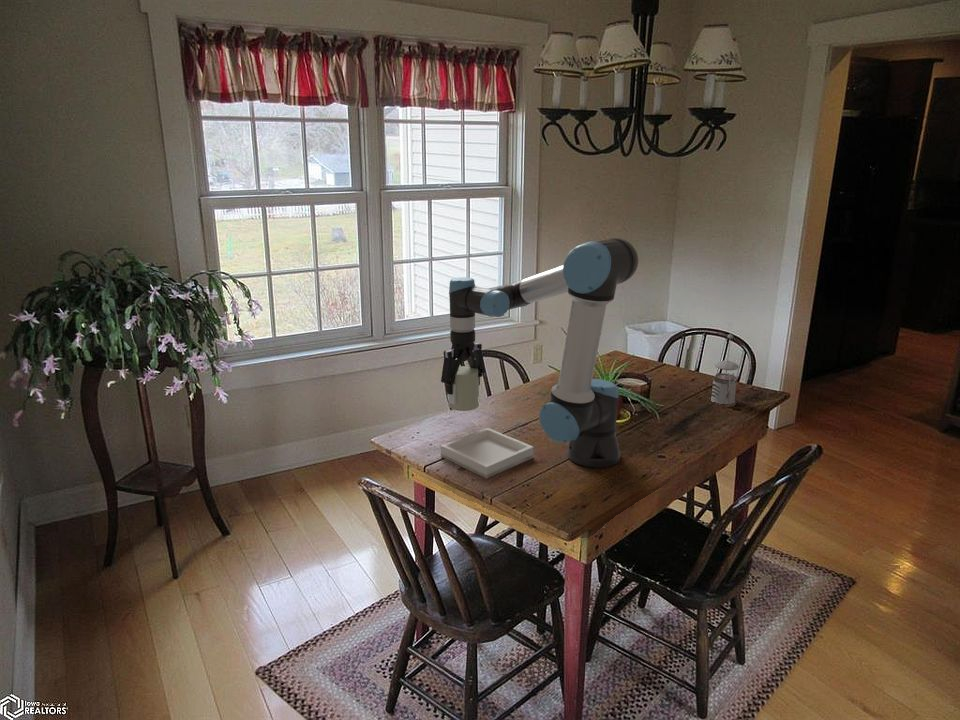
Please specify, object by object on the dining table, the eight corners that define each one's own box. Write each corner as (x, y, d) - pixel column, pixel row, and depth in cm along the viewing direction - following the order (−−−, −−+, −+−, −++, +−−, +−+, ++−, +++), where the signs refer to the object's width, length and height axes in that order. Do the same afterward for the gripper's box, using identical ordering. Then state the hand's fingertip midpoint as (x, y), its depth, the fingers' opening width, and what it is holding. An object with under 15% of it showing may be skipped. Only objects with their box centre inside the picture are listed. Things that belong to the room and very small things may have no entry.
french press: (731, 397, 247) (739, 330, 240) (743, 409, 236) (752, 339, 229) (704, 397, 247) (711, 330, 240) (715, 409, 236) (723, 339, 229)
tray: (533, 457, 199) (533, 446, 198) (486, 478, 187) (486, 467, 186) (487, 438, 212) (487, 427, 211) (440, 456, 200) (440, 445, 199)
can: (458, 398, 220) (457, 363, 216) (483, 403, 215) (483, 366, 212) (443, 408, 212) (442, 371, 208) (469, 413, 208) (469, 375, 204)
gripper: (479, 321, 216) (480, 388, 223) (426, 333, 202) (429, 405, 208) (496, 325, 211) (497, 394, 217) (443, 338, 197) (445, 411, 203)
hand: (463, 399), depth 213 cm, fingers closed on can, 9 cm apart
